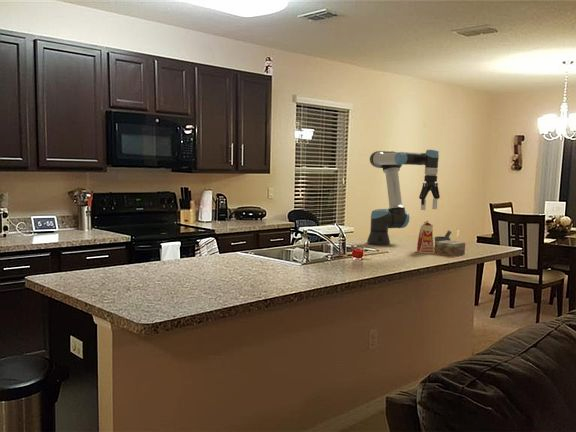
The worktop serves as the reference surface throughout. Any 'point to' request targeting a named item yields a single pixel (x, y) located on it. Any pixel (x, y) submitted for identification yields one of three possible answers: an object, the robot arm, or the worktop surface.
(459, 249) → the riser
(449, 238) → the mortar and pestle
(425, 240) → the milk carton
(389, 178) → the robot arm
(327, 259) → the worktop surface
